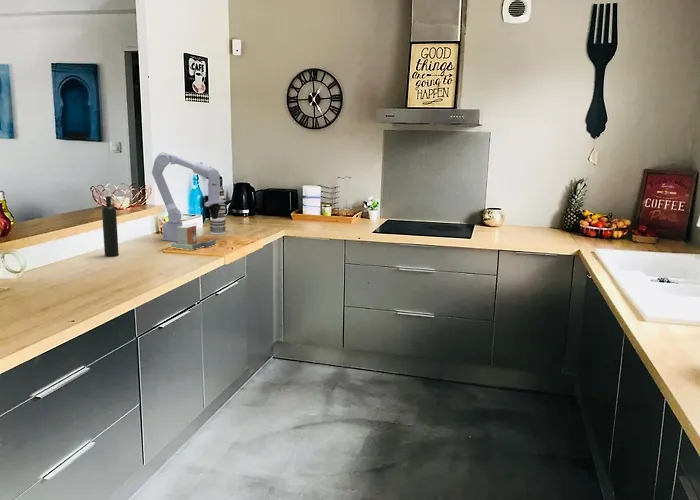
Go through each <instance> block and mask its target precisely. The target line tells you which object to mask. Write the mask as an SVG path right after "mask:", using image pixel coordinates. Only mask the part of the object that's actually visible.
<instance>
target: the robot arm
mask: <svg viewBox="0 0 700 500" xmlns="http://www.w3.org/2000/svg"><path fill="white" fill-rule="evenodd" d="M169 164H170V165H179V166H181V167H185V168H187V169H190V170H191V171H192V173H193V174H196V175H197V176H200V177H203V178H208V180H207V194H208V195H207V198H208V200H207V201H206V202H204V207H207V208H208V210H209V211H210V213H211V216H212V219H217V217H218V212H219V209H220V207H221V205H219V204H220V203H223V200H222V199H220V187H221V186H220V177H221V174H220V172H219V170H217V169H216V168H214V167H212V166H211V165H210V166H208V165H206V164H204V163H203V162H195V163H193V162H192V161H189V160H186V159H184V158H182V157H179V156H177V155H174V154H171V153H167V152H160V153H158V154H157V155H156V157H155V159H154V162H153V167H152V169H151V174H152V176H153V179H154V182H155V184H156V187H157V189H158V191H159V194H160V196H161V199H162V201H163V203H164V205H165V208H166V211H167V219H168V221H165V222H164V223H163V224H162V229H161V230H162V239H161V240H162V241H167V242H178V236H177V227H180V226H183V220H182V212H181V211H180V209H178V207H177V205H176V203H175V201H174V198H173V196H172V194H171V192H170V189H169V185H168V184H167V182H166V178H165V177H164V174H163V173H164V170H165V169H166V167H167V166H168V165H169Z"/></svg>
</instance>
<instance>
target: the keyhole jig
mask: <svg viewBox="0 0 700 500" xmlns="http://www.w3.org/2000/svg"><path fill="white" fill-rule="evenodd" d="M215 244H217V241H216V239H212V240H208V241H200V242H199V241H198V242H197V243H196V244H193V245H186V244H178V241H174V242H171V243H170V248H171V247H176V248H183V249H189V250H193V249H196V248H199V249H201V248H200V247H202V246H204V247H202V248H205V247H208V248H210V247H209V246H211V247H213V246H212V245H214V246H216V245H215ZM196 250H197V249H196ZM193 251H194V250H193Z"/></svg>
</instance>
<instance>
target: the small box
mask: <svg viewBox="0 0 700 500" xmlns="http://www.w3.org/2000/svg"><path fill="white" fill-rule="evenodd" d="M177 236H178V241H177V242H178V244H186V245H193V244H196V243H198V241H197V240H198V238H197V225H194V224H193V225H192V224H185V225H182V226H180V227H177Z"/></svg>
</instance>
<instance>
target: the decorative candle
mask: <svg viewBox="0 0 700 500" xmlns="http://www.w3.org/2000/svg"><path fill="white" fill-rule="evenodd" d="M219 187H220V199H222V200H223V203H220V204H219V205H221V207H220V209H219V212H218V217H217V219H212V216H211V213H210V217H209V225H210V226H209V231H210V232H209V233H210V235H224V234H226V233H227V232H226V231H227V229H226V228H227V227H226V215H225V213H226V208H225V207H226V203H227V202H226V200H227V198H225V197H226V196H225V189H224V188H223V187H222V186H219ZM209 212H210V210H209Z"/></svg>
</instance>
